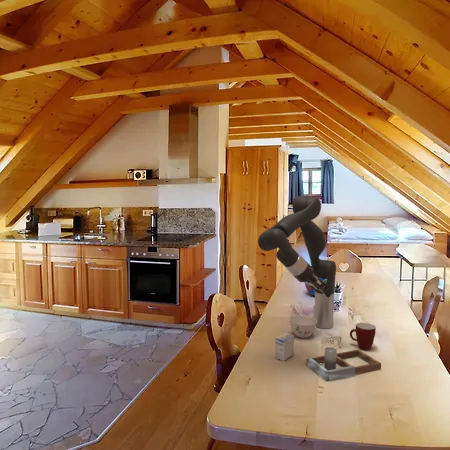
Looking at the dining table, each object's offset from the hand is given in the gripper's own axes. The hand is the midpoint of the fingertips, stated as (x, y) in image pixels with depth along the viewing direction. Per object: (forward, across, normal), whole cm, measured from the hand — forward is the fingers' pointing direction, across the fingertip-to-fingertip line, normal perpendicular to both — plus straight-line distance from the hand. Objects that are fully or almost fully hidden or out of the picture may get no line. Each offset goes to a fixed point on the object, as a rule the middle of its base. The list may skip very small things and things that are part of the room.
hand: (323, 292), depth 153 cm
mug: (+36, +3, +4) cm, 36 cm away
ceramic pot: (+58, +76, -14) cm, 96 cm away
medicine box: (+10, +7, +29) cm, 32 cm away
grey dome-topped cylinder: (+18, -9, +21) cm, 29 cm away
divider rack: (+22, -9, +17) cm, 29 cm away
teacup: (+25, +24, +16) cm, 38 cm away
